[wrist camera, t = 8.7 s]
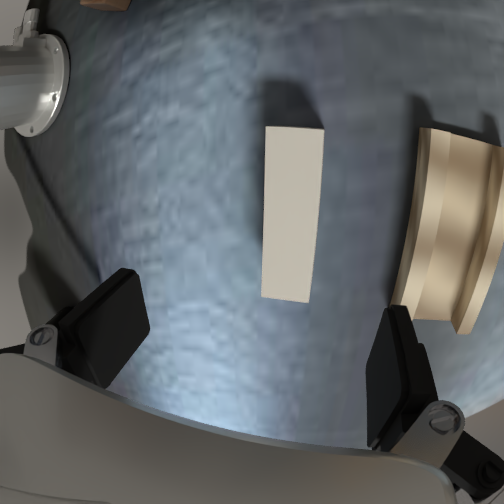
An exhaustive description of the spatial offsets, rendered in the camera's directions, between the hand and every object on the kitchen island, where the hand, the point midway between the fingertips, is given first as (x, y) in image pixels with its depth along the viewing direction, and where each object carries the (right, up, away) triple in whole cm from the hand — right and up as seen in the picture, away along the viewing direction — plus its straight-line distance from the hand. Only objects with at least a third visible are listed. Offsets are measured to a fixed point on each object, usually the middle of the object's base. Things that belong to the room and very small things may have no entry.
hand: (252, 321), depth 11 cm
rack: (+16, +4, +10) cm, 19 cm away
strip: (+4, +6, +13) cm, 14 cm away
